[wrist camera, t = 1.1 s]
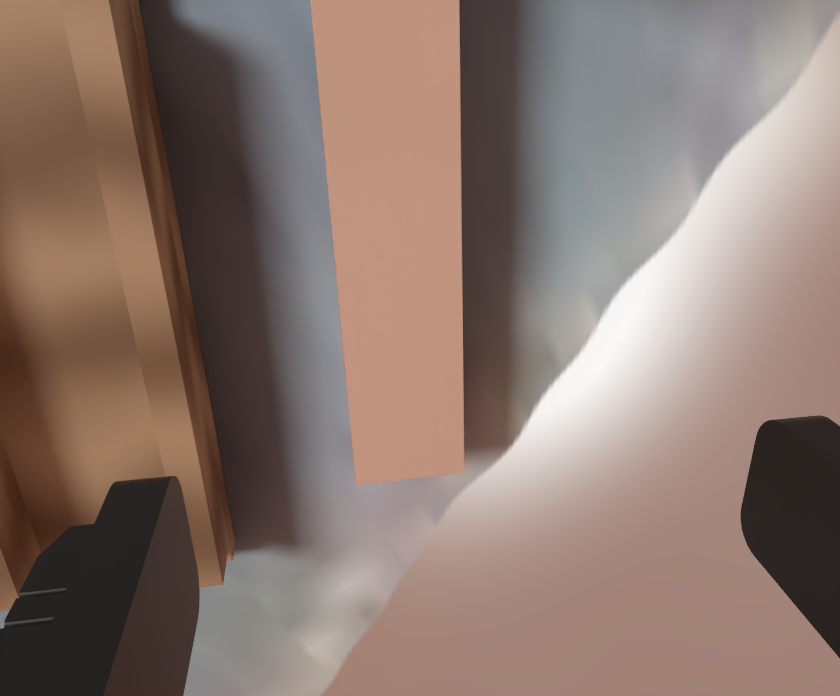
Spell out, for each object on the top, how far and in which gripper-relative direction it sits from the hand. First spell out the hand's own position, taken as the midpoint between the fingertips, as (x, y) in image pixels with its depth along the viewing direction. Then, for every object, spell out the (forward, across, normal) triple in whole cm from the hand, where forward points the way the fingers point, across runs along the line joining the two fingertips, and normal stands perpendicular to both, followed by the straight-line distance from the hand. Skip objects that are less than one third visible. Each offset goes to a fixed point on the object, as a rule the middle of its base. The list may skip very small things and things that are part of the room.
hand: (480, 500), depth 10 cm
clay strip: (+17, 0, 0) cm, 17 cm away
